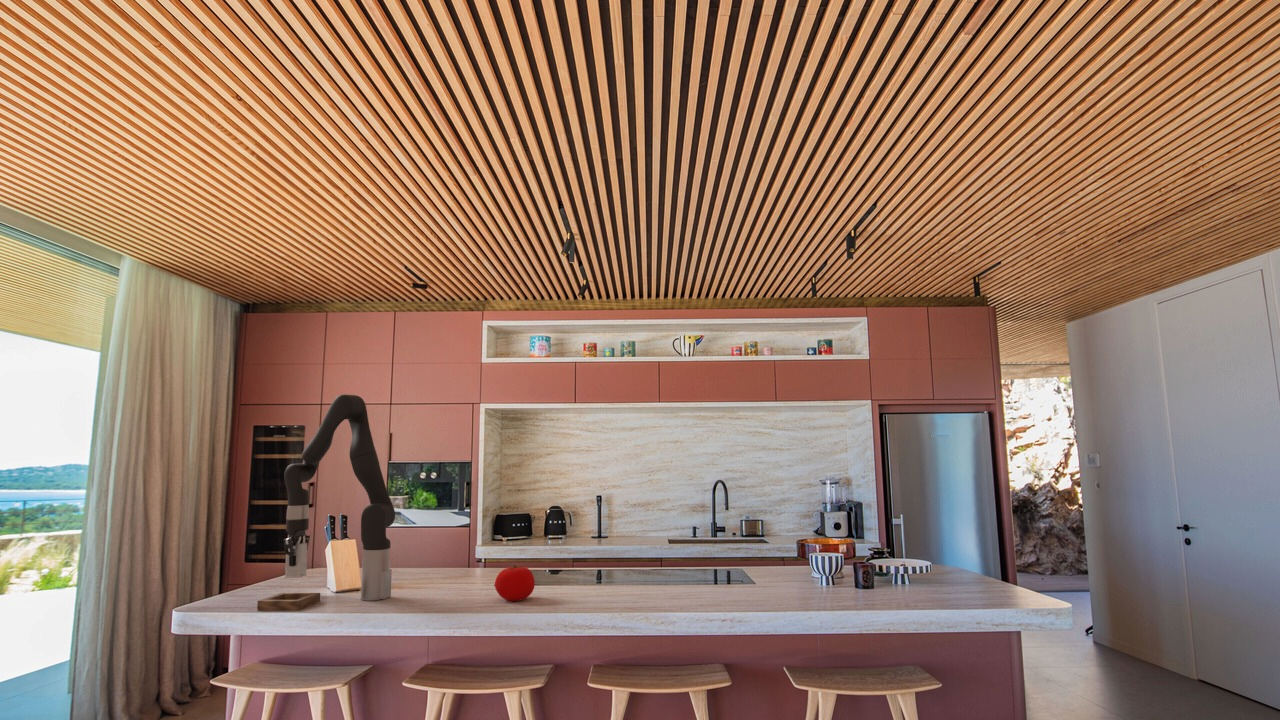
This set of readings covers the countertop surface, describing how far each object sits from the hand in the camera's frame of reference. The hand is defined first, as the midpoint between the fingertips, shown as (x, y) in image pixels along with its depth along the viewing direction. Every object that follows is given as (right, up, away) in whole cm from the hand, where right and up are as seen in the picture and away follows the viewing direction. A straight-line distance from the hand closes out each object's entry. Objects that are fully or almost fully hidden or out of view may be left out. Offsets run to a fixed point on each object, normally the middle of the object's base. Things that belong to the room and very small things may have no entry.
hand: (296, 564), depth 259 cm
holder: (+7, -8, -20) cm, 23 cm away
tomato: (+83, -9, -13) cm, 85 cm away
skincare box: (0, -5, -1) cm, 5 cm away
